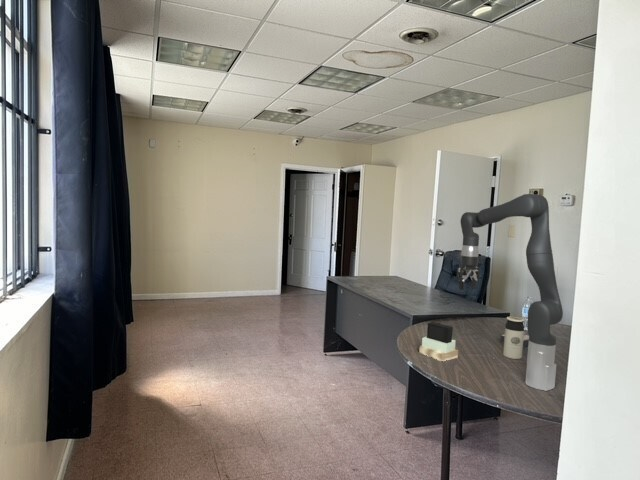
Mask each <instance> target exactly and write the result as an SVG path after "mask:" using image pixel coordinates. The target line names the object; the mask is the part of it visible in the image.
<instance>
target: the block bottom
mask: <svg viewBox="0 0 640 480" xmlns="http://www.w3.org/2000/svg"><path fill="white" fill-rule="evenodd" d="M418 351H419V353H418V354H421V355H424V356H426V355H427V357H428V358H431V357H432V358H431V359H434V360H436V359H437V360H436V361H439V362H441V361H443V362H445V361H446V360H447V361H450V360H453V359H458V358H459V357H458V356H459V350H458V349H456V348H455V349H454V350H452V351H450V352H448V353H443V352H439V351H436V350H432V349H429V348H425V347H422V344H420V345H419V350H418Z"/></svg>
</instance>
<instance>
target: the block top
mask: <svg viewBox="0 0 640 480" xmlns="http://www.w3.org/2000/svg"><path fill="white" fill-rule="evenodd" d="M421 340H422V341H421V345H422V347H425V348H429V349H432V350H436V351H439V352H443V353H448V352H450V351H452V350H454V349H456V339H452V342H449V343H444V342H441V341H437V340H434V339H430V338H427V335H426V336H424V337H421Z"/></svg>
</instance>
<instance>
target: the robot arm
mask: <svg viewBox="0 0 640 480" xmlns="http://www.w3.org/2000/svg"><path fill="white" fill-rule="evenodd" d="M549 213H550V208H549V202H548V199H547V198H546V197H545V196H544V195H541V194H538V193H537V194H534V193H532V194H531V193H526V194H525V193H524V194H522V195H519V196H517V197H515V198H514V199H511V200H510V201H506V202H504V203H502V204H498V205H495V206H490V207H487V208H484V209H481V210H479V212H473V211H472V212H470V211H469V212H468V211H465V212H464V213H462V215H461V218H460V228H461V232H462V233H461V234H462V247H461V254H460V265H461V266H462V267H457V269H456V277H455V280H456V281H458V282H459V283H458V289H459V290H460V291H464V290H465V281H466V280H467V279H468V278H469V277H470V279H471V281H470V289H472V290H476V287H477V282H478V281H479V280H480V278H481V267H480V266H478V264H479V251H480V250H479V244H480V243H479V240H480V235H479V234H478V233H476V232H474V229H473V228H475V229H476V228H477V229H478V228H483V227H485V226H486V225H487V226H488V225H492V224H495V223H499V222H501V221H503V220H505V219H508V218H511V217H512V218H513V217H524V218H529V219H530V223H531V233H530V237H529V240H528V242H527V245H526V250H525V256H526V257H525V258H526V264H527V270H528V271H529V273H530V275H531V276H532V279H533V280H534V281H535V283H536V285H537V287H538V289H539V296H540V300H538V301H534V302H531V304H530V305H529V306H528V311H527V324H526V325H527V334H528V336H529V344H528V346H527V357H526V358H527V359H526V370H525V372H526V373H525V384H526V386H528V387H531V388H532V389H536V390H541V391H545V392H547V391H550V390H552V389H555V386H556V385H555V384H556V373H557V363H555V360H556V359H555V358H556V357H555V356H556V347H557V345H556V344H557V338H556V336H555V335H554V334H552V333H551V326H552V325H556V324H559V323H560V322H561V321H562V319H563V314H564V313H563V312H564V311H563V305H562V302H561V299H560V293H559V289H558V286H557V277H556V271H555V263H554V256H553V255H554V254H553V249H552V241H551V231H550V214H549Z"/></svg>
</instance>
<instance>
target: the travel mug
mask: <svg viewBox="0 0 640 480" xmlns="http://www.w3.org/2000/svg"><path fill="white" fill-rule="evenodd" d="M506 320H507V321H506V323H505V326H504V327H505V328H504V335H505V338H504V343H503V352H502V353H503V354H502V355H503V356H504V357H505V358H508V359H511V360H513V359H514V360H520V359H522V358H523V350H524V349H523V348H524V347H523V338H524V334H525V326H524V322H525V319H524V318H521V317H517V316H507V317H506Z"/></svg>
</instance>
